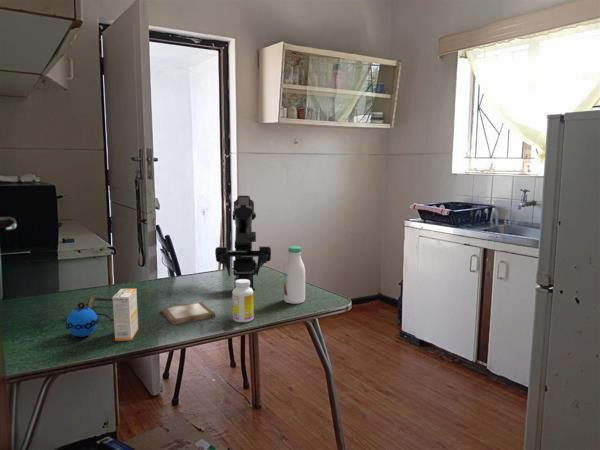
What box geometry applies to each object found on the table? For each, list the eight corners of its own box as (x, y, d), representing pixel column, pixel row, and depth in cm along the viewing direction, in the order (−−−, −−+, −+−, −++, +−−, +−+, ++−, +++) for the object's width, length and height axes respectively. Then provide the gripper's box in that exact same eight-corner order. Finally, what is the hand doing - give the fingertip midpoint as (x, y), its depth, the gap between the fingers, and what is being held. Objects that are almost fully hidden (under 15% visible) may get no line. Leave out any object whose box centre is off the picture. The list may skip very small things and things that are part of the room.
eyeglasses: (94, 306, 163) (93, 292, 163) (136, 307, 163) (135, 293, 162) (72, 321, 149) (71, 306, 148) (117, 322, 148) (116, 307, 147)
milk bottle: (308, 299, 172) (309, 246, 169) (299, 305, 165) (300, 250, 162) (289, 296, 175) (289, 244, 172) (280, 302, 168) (280, 247, 165)
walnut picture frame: (201, 305, 164) (201, 301, 164) (215, 317, 152) (215, 313, 152) (161, 311, 157) (160, 307, 157) (172, 324, 145) (172, 320, 145)
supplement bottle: (255, 316, 153) (255, 278, 151) (251, 323, 147) (251, 284, 145) (235, 315, 154) (234, 277, 152) (230, 322, 148) (229, 283, 146)
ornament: (74, 344, 130) (71, 309, 129) (62, 335, 136) (59, 302, 134) (104, 335, 136) (102, 302, 135) (91, 328, 142) (89, 296, 141)
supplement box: (122, 330, 140) (120, 288, 139) (138, 330, 141) (136, 288, 139) (114, 341, 132) (111, 296, 130) (131, 340, 133) (129, 296, 131)
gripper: (215, 223, 157) (213, 263, 148) (270, 223, 159) (272, 262, 150) (217, 242, 166) (215, 280, 157) (269, 241, 168) (271, 279, 159)
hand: (243, 275), depth 155 cm, fingers open, 9 cm apart
